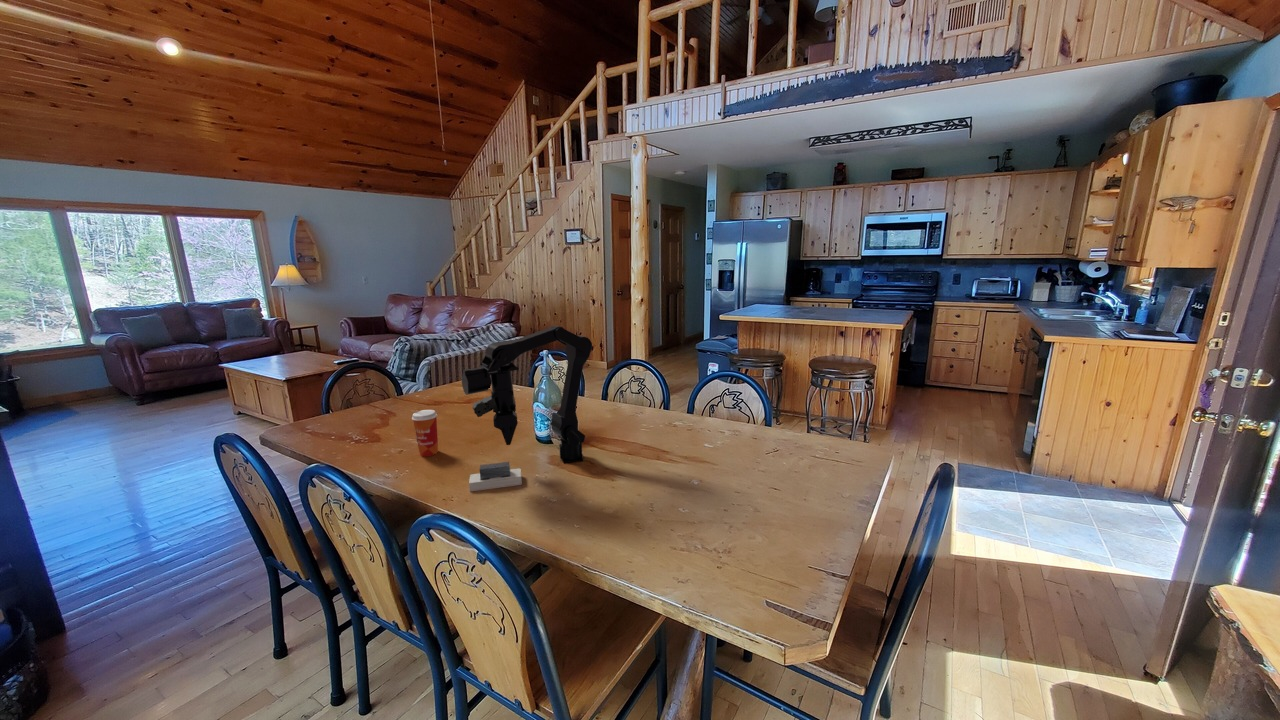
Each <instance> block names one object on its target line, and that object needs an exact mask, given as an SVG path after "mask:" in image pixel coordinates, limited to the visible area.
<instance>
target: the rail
mask: <svg viewBox="0 0 1280 720" xmlns="http://www.w3.org/2000/svg"><path fill="white" fill-rule="evenodd" d="M521 471H522V470H521V468H510V476H509V477H497V478H489V479H488V480H482V479H480V472H478V473H473V474H470V475H469V482H468V488H469V492H476V491H477V492H478V491H484V490H491V489H499V488H506V487H513V486H520V485H523V483H522V472H521Z"/></svg>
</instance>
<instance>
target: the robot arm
mask: <svg viewBox="0 0 1280 720" xmlns="http://www.w3.org/2000/svg"><path fill="white" fill-rule="evenodd" d="M556 341H557V342H559V344H562V345H564V346H565V356H566V357H565V358H566V360H567V367H566V371H565V376H564V377H565V379H564V383H563V390H562V396H561V401H560V407H559V409H558V410H557V411H556V412H555V411H554V412H552V414H551V421H550V423H549V425H550V426H551V430H552V431H553V433H554V434H555V435H556V436H557V437H558V439H560V443H559V444H558V447H559V448H558V451H559V458H560V460H561V463H563V464H567V463H574V462H575V463H576V462H583V461H584V457H583V443H584V442H585V439H586V435H585V434H584V433H582V432H581V431H580V430H579V429H578V428H579V421H578V416H577V415H578V414H577V411H576V410H577V405H578V398H579V393H580V388H581V387H580V385H581V381H582V377H583V369H584V365H585V364H586V363H587V361H588V359H589V358H590V355H591V352H592V350H593V342H592V341H591V339H589V337H586V336H583V335H580V334H575V333H573V332H571V331H569V330H567V329H565V328H564V327H563V326H559V325H556V324H555V325H554V324H553V325H551V326H550V327H548V328H545V329H542V330H539V331H536V332H534V333H530V334H527V335H525V336H523V337H520V338H517V339H511V340H500V341H495V342H491V343H490V344H488V345H487V347H486V349H485V355H484V357H483V359H482V360H481V362H480V364H479V366H478V367H474V368H464V369H462V376H461V377H462V378H461V386H462V389H463V392H464V394H465V395H473V394H477V393H478V394H479V393H482V392H487V391H488V390H489V389H491V395H489V396H486V397H484V398H482V399H479V400H478V401H475V402H474V403H473V404H472V409H473V411H474V413H473V414H475V415H476V416H477V418H481V417H483V415H486V414H487V413H490V412H493V413H495V414H494V415H493V427H494V428H495V429H498V430H499V431H501V434H502V437H503V439H504V442H505V445H506V446H511V444H512V442H513V439H514V435H515V432H516V429H517V426H518V424H519V423H518V413H516V411H517V408H516V399H515V394H514V384H513V375H512V371H513V372H514V371H518V370H519V367H518V366H516V365H515V363H514V361H515V360H516V359H518V358H520V356H521V355H523V354H525V353H527V352H529V351H533V350H535V349H538V348H541V347H544V346H545V345H546V346H547V345H549V344H551V343H554V342H556Z"/></svg>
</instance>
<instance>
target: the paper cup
mask: <svg viewBox="0 0 1280 720" xmlns="http://www.w3.org/2000/svg"><path fill="white" fill-rule="evenodd" d="M437 417H438V414H437V412H436V411H435V410H434V409H423V410H422V409H421V410H418V411H416V412H414V413H412V417H411V420H412V422H413V426H414V433H415V436H416V442H417V447H418V452H419V456H421V457H432V456H434V454H435V455H436V454H438V453H439V444H438V442H439V441H438V424H437ZM437 452H438V453H437Z"/></svg>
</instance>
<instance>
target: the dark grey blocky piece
mask: <svg viewBox="0 0 1280 720" xmlns="http://www.w3.org/2000/svg"><path fill="white" fill-rule="evenodd" d="M510 466H511V465H510V461H504V462H497V463H495V462H494V463H487V464H480V465H479V473H480V479H482V480H488V479H489V478H497V477H509V476H510V469H511V467H510Z"/></svg>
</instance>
